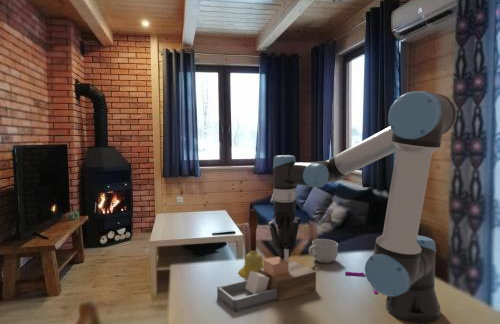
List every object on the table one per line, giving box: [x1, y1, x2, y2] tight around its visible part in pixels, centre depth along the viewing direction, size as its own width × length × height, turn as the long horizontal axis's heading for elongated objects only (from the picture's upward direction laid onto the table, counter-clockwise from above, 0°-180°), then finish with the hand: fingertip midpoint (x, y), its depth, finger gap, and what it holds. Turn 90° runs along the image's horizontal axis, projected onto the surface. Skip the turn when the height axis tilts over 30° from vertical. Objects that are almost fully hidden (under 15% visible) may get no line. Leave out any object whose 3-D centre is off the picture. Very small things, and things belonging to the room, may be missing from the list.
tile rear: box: [263, 256, 288, 277], centre depth 130 cm, size 6×6×4 cm
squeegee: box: [344, 271, 379, 295], centre depth 142 cm, size 29×2×10 cm
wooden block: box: [259, 260, 317, 301], centre depth 132 cm, size 13×15×6 cm
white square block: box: [245, 271, 269, 294], centre depth 127 cm, size 6×6×4 cm
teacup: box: [308, 238, 339, 264], centre depth 159 cm, size 14×11×8 cm
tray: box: [216, 279, 278, 313], centre depth 125 cm, size 12×16×4 cm
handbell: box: [237, 208, 264, 280], centre depth 146 cm, size 12×12×25 cm
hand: (284, 266), depth 132 cm, fingers closed
